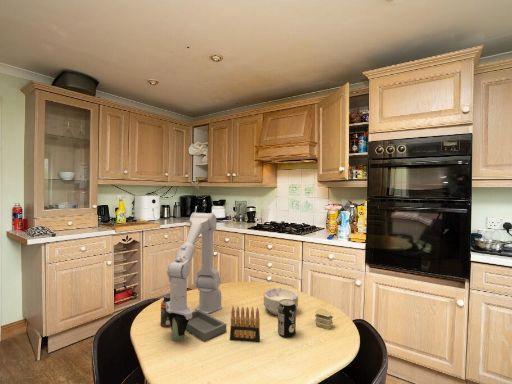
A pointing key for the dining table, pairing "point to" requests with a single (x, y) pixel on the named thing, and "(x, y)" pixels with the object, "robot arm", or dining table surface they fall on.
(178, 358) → the dining table surface
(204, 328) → the trough
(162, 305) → the supplement bottle
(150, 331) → the dining table surface
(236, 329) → the ammunition clip
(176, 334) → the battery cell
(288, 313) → the beverage can
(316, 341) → the dining table surface
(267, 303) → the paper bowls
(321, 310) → the layered tan block
